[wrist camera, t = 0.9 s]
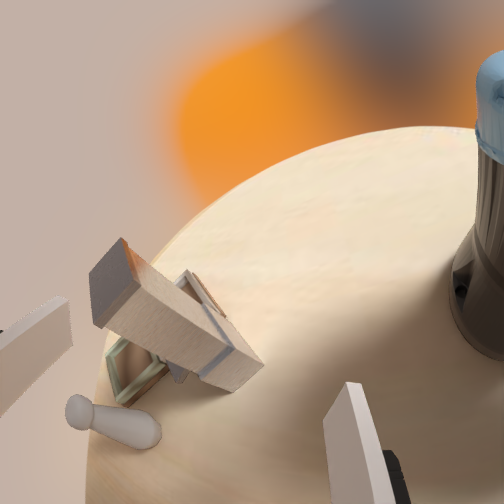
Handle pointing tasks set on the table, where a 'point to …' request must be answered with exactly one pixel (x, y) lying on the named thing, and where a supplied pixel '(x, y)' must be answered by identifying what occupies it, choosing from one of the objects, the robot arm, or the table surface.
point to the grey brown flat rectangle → (147, 352)
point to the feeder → (168, 321)
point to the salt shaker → (114, 422)
